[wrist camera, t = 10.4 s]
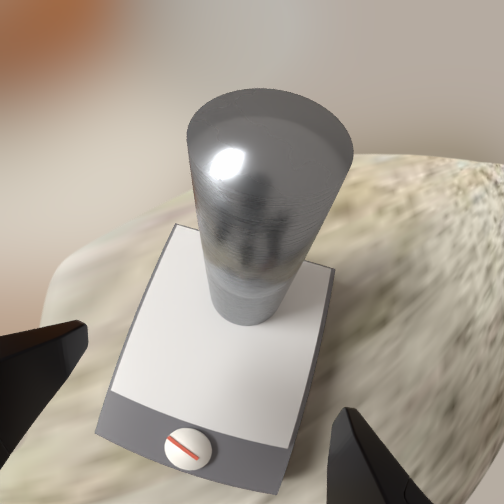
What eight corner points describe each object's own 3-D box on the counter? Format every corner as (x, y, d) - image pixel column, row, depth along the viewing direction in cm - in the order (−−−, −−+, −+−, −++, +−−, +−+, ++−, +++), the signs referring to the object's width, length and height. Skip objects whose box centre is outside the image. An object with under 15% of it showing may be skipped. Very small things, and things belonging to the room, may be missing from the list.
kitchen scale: (270, 482, 16) (279, 499, 13) (111, 429, 17) (89, 434, 13) (323, 284, 23) (339, 264, 20) (180, 242, 24) (173, 217, 21)
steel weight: (289, 318, 18) (379, 190, 7) (216, 331, 17) (193, 209, 6) (273, 253, 20) (320, 88, 9) (205, 263, 19) (183, 94, 8)
